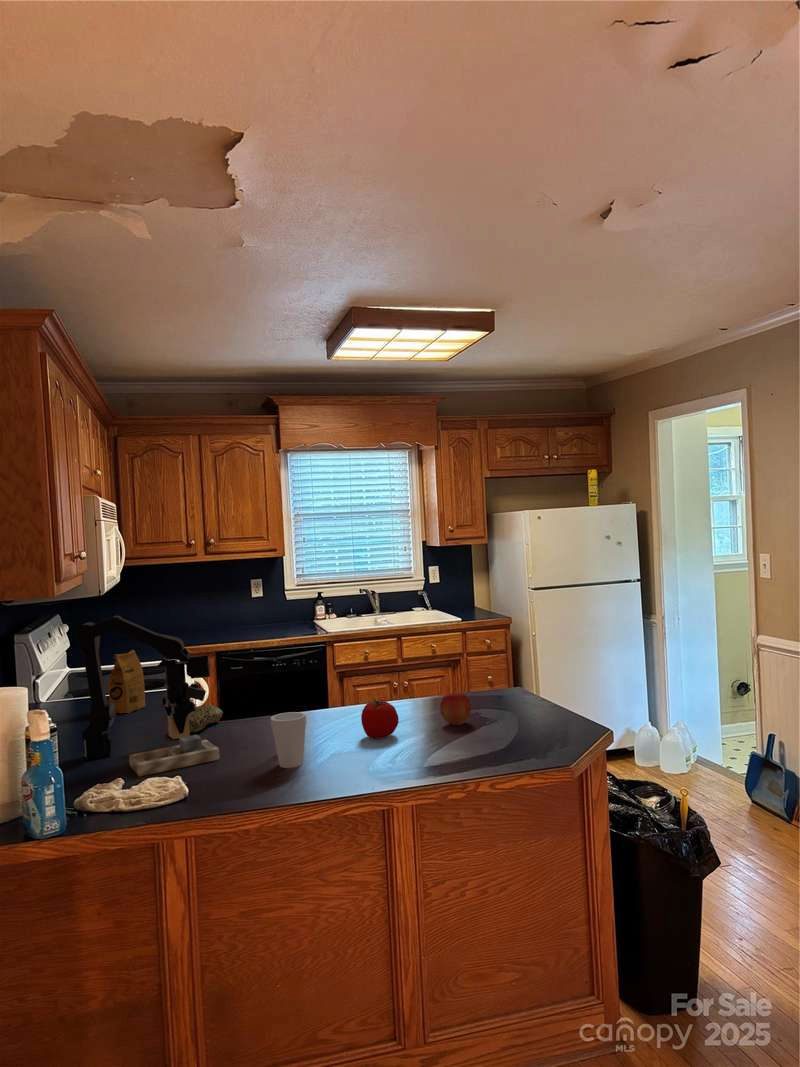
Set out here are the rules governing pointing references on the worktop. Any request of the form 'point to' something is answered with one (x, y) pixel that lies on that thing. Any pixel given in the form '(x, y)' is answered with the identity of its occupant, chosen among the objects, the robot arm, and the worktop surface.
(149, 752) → the puzzle frame
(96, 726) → the robot arm
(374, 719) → the red fruit
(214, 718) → the speckled rock
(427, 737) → the worktop surface
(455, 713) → the apple
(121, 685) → the coffee package
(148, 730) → the worktop surface
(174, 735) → the block
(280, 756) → the foam cup
